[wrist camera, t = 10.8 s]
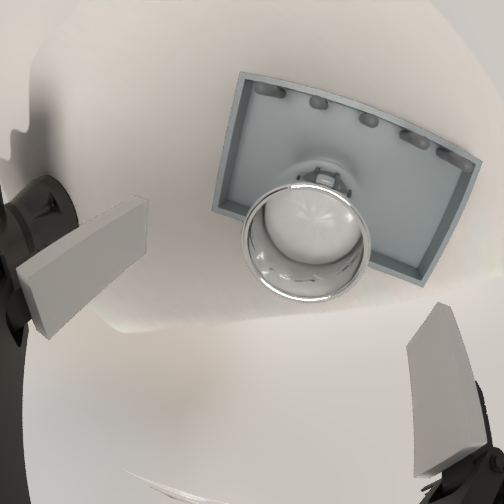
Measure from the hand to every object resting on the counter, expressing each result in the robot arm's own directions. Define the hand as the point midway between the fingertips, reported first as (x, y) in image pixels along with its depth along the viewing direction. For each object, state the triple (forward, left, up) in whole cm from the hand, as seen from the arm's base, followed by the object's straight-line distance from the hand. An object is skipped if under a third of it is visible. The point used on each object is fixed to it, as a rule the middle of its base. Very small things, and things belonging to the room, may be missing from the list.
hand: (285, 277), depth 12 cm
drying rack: (+2, +1, -19) cm, 19 cm away
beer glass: (0, 0, -18) cm, 18 cm away
